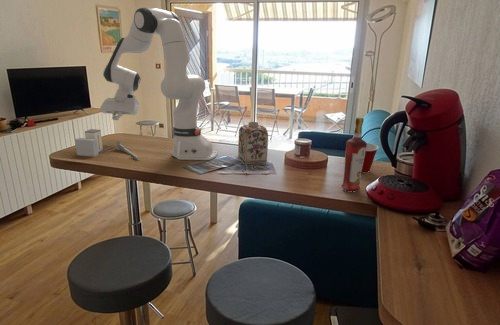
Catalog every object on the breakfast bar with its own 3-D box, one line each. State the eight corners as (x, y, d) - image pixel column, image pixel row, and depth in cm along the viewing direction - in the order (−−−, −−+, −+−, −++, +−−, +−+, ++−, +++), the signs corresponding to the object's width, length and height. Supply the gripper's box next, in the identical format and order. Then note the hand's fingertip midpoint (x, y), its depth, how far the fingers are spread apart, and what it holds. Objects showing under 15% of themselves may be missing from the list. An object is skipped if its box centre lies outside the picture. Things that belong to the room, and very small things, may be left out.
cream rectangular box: (103, 150, 163) (100, 129, 160) (97, 153, 158) (94, 132, 155) (93, 149, 164) (91, 129, 160) (87, 152, 159) (84, 131, 156)
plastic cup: (345, 171, 147) (349, 145, 144) (355, 165, 155) (359, 141, 151) (369, 177, 141) (373, 150, 137) (378, 171, 148) (382, 145, 145)
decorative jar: (244, 162, 155) (245, 125, 150) (237, 155, 166) (238, 120, 160) (268, 160, 159) (269, 124, 153) (259, 154, 169) (261, 119, 164)
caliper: (116, 152, 166) (115, 140, 164) (118, 151, 167) (117, 139, 165) (138, 161, 154) (137, 148, 152) (140, 160, 155) (139, 147, 153)
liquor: (350, 185, 131) (359, 115, 122) (364, 191, 125) (375, 119, 116) (336, 188, 127) (344, 116, 119) (350, 195, 121) (360, 120, 113)
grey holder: (120, 149, 170) (118, 132, 167) (99, 159, 153) (97, 140, 151) (95, 147, 172) (93, 130, 170) (72, 157, 155) (70, 138, 153)
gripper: (102, 94, 181) (94, 115, 174) (137, 96, 178) (130, 116, 171) (108, 101, 186) (100, 121, 180) (142, 103, 183) (134, 123, 177)
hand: (115, 119), depth 176 cm, fingers closed
